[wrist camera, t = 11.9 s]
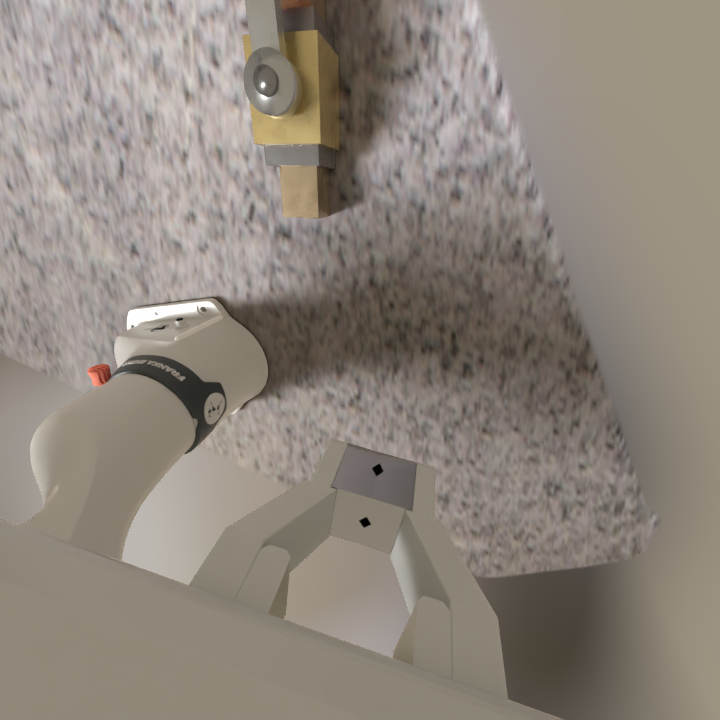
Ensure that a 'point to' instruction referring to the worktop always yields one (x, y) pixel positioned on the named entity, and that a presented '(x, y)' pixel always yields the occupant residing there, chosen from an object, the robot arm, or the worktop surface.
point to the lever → (270, 62)
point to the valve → (304, 113)
